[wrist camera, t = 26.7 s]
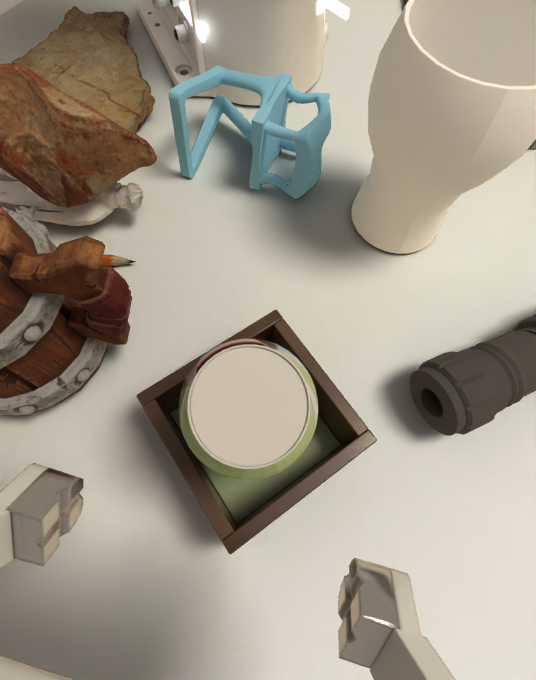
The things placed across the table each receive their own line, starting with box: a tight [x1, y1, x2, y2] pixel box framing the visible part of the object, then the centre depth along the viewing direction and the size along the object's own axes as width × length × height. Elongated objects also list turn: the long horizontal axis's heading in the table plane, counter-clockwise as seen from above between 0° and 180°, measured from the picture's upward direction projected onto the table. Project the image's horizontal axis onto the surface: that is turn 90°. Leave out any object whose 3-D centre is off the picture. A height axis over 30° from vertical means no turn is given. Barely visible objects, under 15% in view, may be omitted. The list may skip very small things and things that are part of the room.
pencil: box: [101, 255, 135, 266], centre depth 31 cm, size 1×19×1 cm
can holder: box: [137, 310, 377, 554], centre depth 25 cm, size 10×10×5 cm
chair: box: [169, 65, 331, 199], centre depth 33 cm, size 8×8×12 cm
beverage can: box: [179, 339, 318, 480], centre depth 21 cm, size 6×7×12 cm
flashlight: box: [410, 315, 536, 435], centre depth 27 cm, size 15×5×5 cm, turn 114°
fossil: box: [11, 6, 155, 134], centre depth 39 cm, size 21×13×2 cm, turn 43°
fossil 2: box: [0, 64, 157, 208], centre depth 28 cm, size 13×8×10 cm
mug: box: [0, 206, 132, 416], centre depth 23 cm, size 12×14×15 cm
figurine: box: [0, 168, 143, 226], centre depth 32 cm, size 7×4×18 cm
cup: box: [351, 0, 536, 254], centre depth 27 cm, size 11×11×15 cm
